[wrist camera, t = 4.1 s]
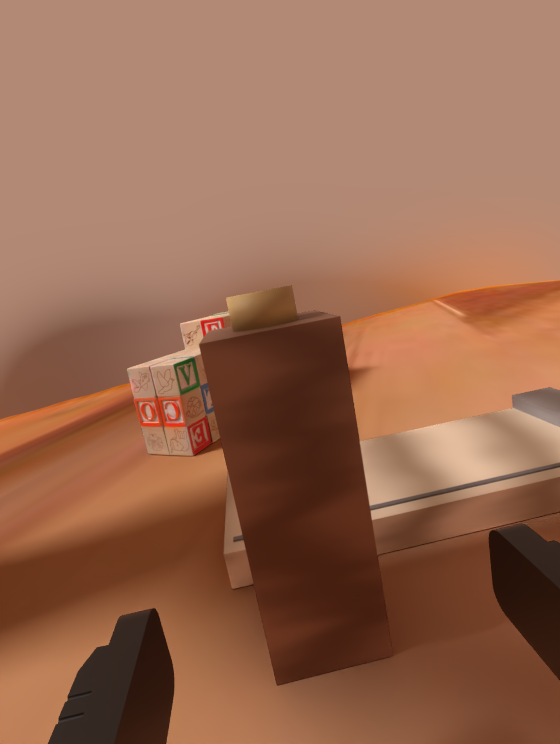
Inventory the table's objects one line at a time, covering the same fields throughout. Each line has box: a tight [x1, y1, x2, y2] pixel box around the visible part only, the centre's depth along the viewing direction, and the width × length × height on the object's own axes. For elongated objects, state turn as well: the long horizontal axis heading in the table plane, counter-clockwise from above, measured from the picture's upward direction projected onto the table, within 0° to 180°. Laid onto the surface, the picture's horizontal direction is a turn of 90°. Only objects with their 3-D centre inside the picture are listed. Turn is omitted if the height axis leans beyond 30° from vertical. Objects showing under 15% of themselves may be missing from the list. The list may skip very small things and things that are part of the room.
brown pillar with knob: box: [199, 285, 393, 685], centre depth 16 cm, size 4×4×14 cm
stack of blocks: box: [127, 311, 232, 456], centre depth 49 cm, size 21×6×12 cm, turn 153°
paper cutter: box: [224, 387, 560, 589], centre depth 23 cm, size 25×17×3 cm
